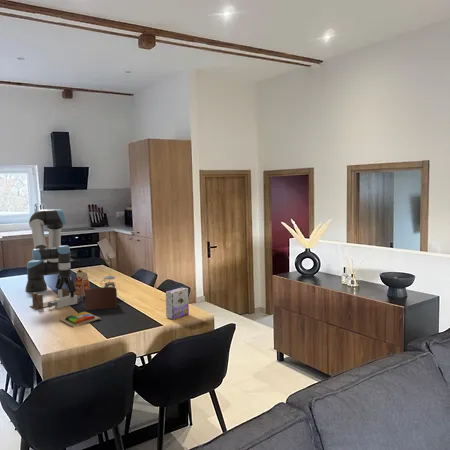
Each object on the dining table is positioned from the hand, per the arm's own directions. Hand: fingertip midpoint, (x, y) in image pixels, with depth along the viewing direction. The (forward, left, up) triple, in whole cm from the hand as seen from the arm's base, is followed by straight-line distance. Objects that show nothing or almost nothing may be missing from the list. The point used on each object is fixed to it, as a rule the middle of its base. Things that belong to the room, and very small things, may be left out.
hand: (66, 300), depth 285 cm
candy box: (+77, +27, -4) cm, 82 cm away
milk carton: (-17, +23, -4) cm, 29 cm away
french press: (+4, +31, -4) cm, 32 cm away
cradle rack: (-11, -5, -3) cm, 12 cm away
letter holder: (+22, +12, -4) cm, 26 cm away
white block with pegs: (0, 0, -3) cm, 3 cm away
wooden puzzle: (+36, -13, -4) cm, 39 cm away
